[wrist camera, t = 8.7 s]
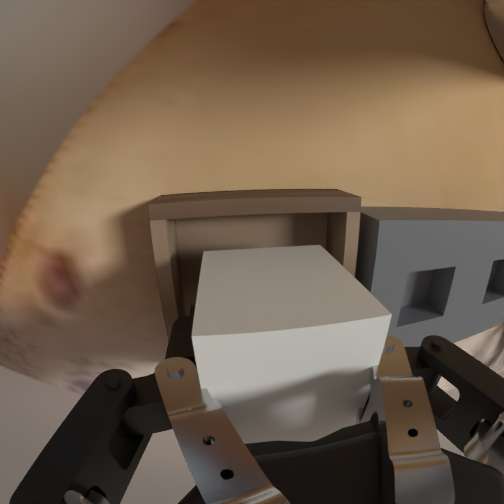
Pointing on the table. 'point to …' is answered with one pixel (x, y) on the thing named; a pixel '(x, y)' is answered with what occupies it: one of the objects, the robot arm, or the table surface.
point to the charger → (285, 341)
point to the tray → (244, 232)
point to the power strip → (433, 269)
